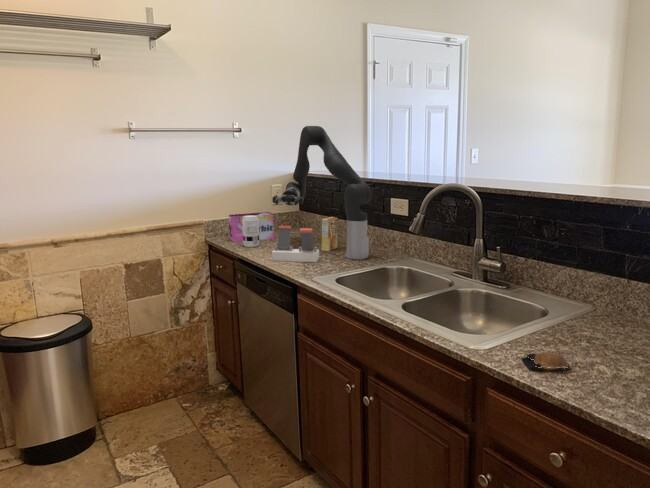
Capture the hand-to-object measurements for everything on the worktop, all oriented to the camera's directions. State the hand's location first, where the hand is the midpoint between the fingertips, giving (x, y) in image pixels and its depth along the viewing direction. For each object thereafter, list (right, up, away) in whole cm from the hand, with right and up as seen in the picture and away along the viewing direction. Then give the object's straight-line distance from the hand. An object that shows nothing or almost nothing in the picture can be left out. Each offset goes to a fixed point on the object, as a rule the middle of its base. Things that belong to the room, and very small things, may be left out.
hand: (285, 202), depth 226 cm
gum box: (-21, -16, +40) cm, 48 cm away
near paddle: (+10, -21, -7) cm, 24 cm away
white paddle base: (+5, -26, -5) cm, 27 cm away
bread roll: (+71, -48, -108) cm, 138 cm away
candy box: (+20, -22, +16) cm, 33 cm away
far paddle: (-1, -21, -5) cm, 21 cm away
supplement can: (-19, -20, +24) cm, 36 cm away
